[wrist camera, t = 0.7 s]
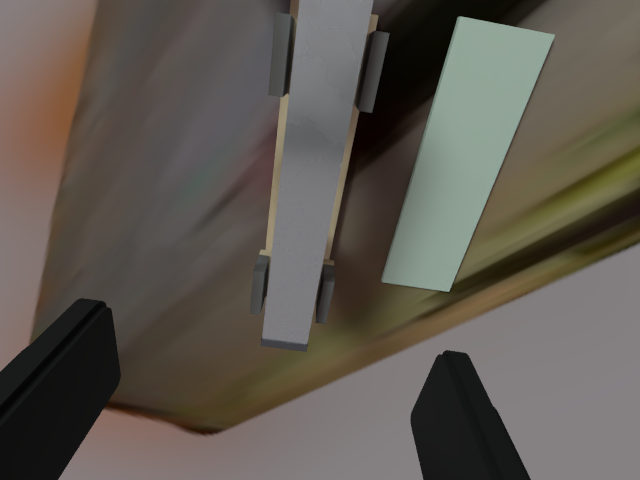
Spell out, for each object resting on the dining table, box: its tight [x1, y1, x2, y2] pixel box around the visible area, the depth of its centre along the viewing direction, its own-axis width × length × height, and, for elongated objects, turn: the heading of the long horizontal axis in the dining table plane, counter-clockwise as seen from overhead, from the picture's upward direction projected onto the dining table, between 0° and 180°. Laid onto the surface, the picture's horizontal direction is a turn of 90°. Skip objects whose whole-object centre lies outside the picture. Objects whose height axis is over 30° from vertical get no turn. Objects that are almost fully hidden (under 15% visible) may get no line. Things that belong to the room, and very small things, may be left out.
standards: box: [250, 0, 389, 324], centre depth 28 cm, size 7×24×12 cm, turn 171°
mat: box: [381, 16, 555, 292], centre depth 34 cm, size 8×26×1 cm, turn 171°
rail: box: [261, 0, 374, 352], centre depth 23 cm, size 24×4×4 cm, turn 171°
